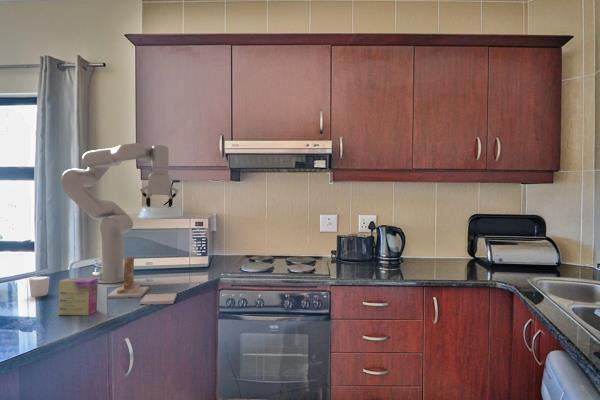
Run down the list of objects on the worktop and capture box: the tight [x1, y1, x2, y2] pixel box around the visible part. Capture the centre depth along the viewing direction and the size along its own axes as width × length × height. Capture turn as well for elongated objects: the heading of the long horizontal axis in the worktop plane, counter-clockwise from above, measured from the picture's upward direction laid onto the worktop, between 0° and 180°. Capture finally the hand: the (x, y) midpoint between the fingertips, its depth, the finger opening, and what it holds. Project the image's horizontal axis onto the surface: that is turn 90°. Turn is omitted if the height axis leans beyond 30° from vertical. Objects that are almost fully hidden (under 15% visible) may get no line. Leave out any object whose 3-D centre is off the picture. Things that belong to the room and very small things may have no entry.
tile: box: [139, 293, 177, 306], centre depth 141 cm, size 2×10×12 cm
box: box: [57, 277, 99, 316], centre depth 124 cm, size 10×6×12 cm, turn 92°
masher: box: [117, 257, 141, 294], centre depth 150 cm, size 7×7×14 cm
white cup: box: [28, 275, 51, 298], centre depth 145 cm, size 7×7×7 cm
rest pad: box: [106, 286, 150, 299], centre depth 150 cm, size 13×13×1 cm
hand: (159, 206), depth 170 cm, fingers open, 9 cm apart
